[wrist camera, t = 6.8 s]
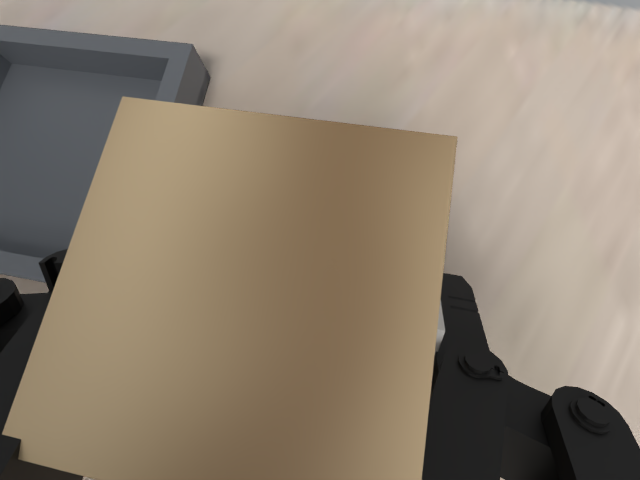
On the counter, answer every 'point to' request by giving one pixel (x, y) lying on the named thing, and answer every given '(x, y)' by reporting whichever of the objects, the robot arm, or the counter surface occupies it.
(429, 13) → the counter surface
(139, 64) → the slate tray
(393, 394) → the oak block
